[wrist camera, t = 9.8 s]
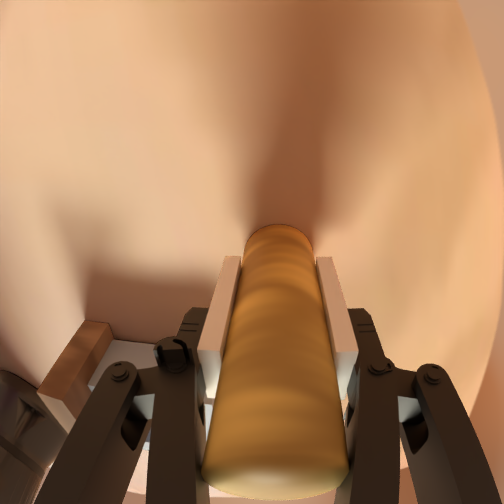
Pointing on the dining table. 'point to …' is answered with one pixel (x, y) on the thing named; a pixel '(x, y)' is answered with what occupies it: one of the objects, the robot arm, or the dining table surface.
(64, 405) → the board
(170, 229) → the dining table surface
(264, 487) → the golden brown tall cylinder
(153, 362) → the block
